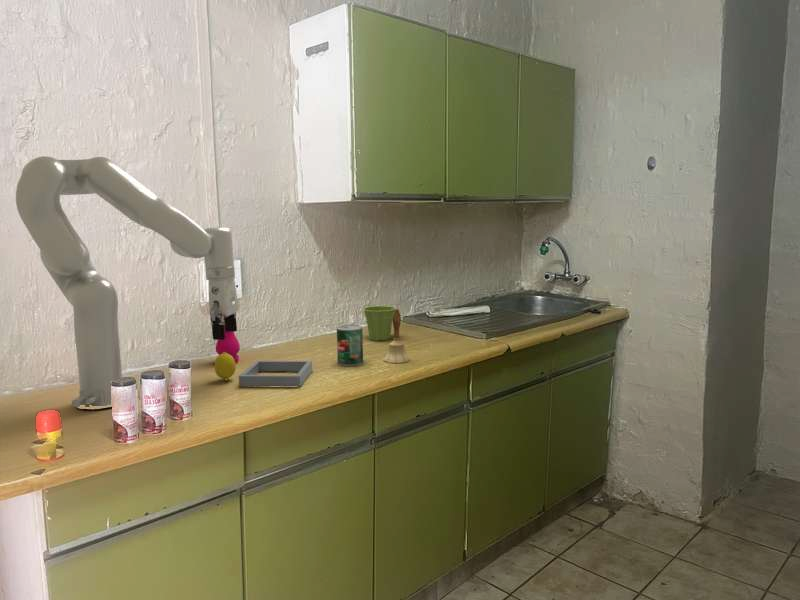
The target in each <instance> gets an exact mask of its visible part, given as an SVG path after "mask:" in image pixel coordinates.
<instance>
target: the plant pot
mask: <svg viewBox="0 0 800 600" xmlns="http://www.w3.org/2000/svg"><path fill="white" fill-rule="evenodd" d="M395 309H397V308H396V307H395V306H391V305H372V306H365V307H363V308H362V311H363V313H364V317H365V320H366V325H367V331H368V337H369V339H370V340H371V341H375V342H378V341H384V340H385V341H388V340H390V338H391V333H392V327H393V321H392V319H393V314H394V311H395Z"/></svg>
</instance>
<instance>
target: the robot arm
mask: <svg viewBox="0 0 800 600" xmlns="http://www.w3.org/2000/svg"><path fill="white" fill-rule="evenodd" d="M94 194H95V195H98V197H100V198H101V199H102V200H104V201H105V202H107V203H108V204H109V205H111V206H112V207H113V208H115V209H116V210H118V211H119V212H120V213H121V214H123V215H124V216H126V218H128V219H129V220H131V221H132V222H134V223H136V224H137V225H140V226H142V227H144V228H147V229H149V230H151V231H153V232H155V233H157V234H159V235H160V236H161V237H163V238H165V239H166V240H168V241H169V245H170V248H171V249H172V251H173V252H174V253H175V254H177V255H178V256H181V257H184V258H191V259H201V258H203V259H204V271H205V281H208V306H209V311H208V313H209V316H210V321H211V322H210V324H211V332H212V340H214V341H215V340H217V341H218V340H224V339H225V331H226V332H234V333H235V332H237V331H238V326H237V324H238V323H237V312H238V310H239V303H238V293H237V286H236V281H235V278H236V273H235V271H236V270H235V260H234V258H235V257H234V249H233V236H232V230H231V229H230V228H228V227H226V226H219V227H206V228H202V227H201V226H200V225H198V224H197V223H196V222H195V221H193V220H192V219H191V218H189V216H187V215H186V214H184V212H183V213H182V212H181V211H180V210H179V209H177V208H175V207H174V206H172V205H171V204H169V203H168V202H166V201H165V200H164V199H162V198H161V197H160V196H158V195H157V194H155V193H154V192H152V191H151V190H150V189H149V188H147V187H146V186H145V185H144V184H143V183H141V182H140V181H138V180H137V179H136V178H135V177H133V176H132V175H131V174H130V173H128V172H127V171H126V170H125V169H124V168H122V167H121V166H120V165H118V164H117V163H115V162H114V161H113V160H111V159H109V158H107V157H104V156H95V157H94V156H93V157H91V158H87V159H85V158H84V159H57V158H55V157H51V156H38V157H35V158H33V159H31V160H30V161H29V162H27V163H26V164H25V165H24V166H23V168H22V170H21V175H20V177H19V180H18V182H17V186H16V191H15V204H16V209H17V212H18V215H19V217H20V219H21V221H22V223H23V224H24V226H25V228H26V229H27V231H28V232H29V233H28V234H30V236H31V238H32V240H33V241H34V242H35V244H36V246H37V247H38V249H39V255H40V260H41V262H42V264H43V266H44V267H45V269H46V271H47V272H48V273H49V275H50V276H51V279H53V281H54V283H55V284H56V286H58V288H59V290H60V291H61V293H62V294H63V296H64V297H65V299H66V300H67V301H68V302H69V304H70V305H72V308H73V328H74V330H73V331H74V332H73V333H74V342H75V349H76V350H75V351H76V361H77V371H78V380H79V389H80V390H79V393H78V394H79V396H78V397H76V398H74V399H73V400H72V401H71V405H72V407H74V408H75V407H79V406H80V405H85V407H90V406H89V405H92V406H107V405H111V381H112V380H114V379H117V378H122V379H123V369H122V358H121V357H122V356H121V347H120V337H119V319H118V318H119V316H118V315H119V313H118V312H119V310H118V309H119V301H118V300H119V298H118V293H117V291H116V288H115V286H114V285H113V284H112V282H111V281H110V280H108V279H107V278H106V277H103V276H101V275H100V273H99V272H98V271H97V269H96V268H95V266H94V264H93V263H92V261H91V260H90V259H91V257H90V256H91V255H90V251H89V249H88V247H87V245H86V244H85V242H84V241H83V239H82V238H81V236H79V233H77V231H76V229H75V228H74V226H73V225H72V223H71V222H70V220H69V218H68V216H67V215H66V213H65V211H64V209H63V208H62V204H61V196H72V195H73V196H75V195H77V196H78V195H94ZM224 315H225V316H226V317H225V318H224ZM218 317H220V320H219V318H218ZM223 319H224V321H225V328H224V325H223Z"/></svg>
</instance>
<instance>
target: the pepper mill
mask: <svg viewBox="0 0 800 600" xmlns="http://www.w3.org/2000/svg"><path fill="white" fill-rule="evenodd" d="M225 317H226V316H225V315H224V318H225ZM218 318H219V320H220V317H218ZM223 325H224V328H225V321H224V319H223ZM240 350H241V346H240V342H239V340H238V339H237V336H236V335H235V332H226V331H225V339H224V340H217V341H216V343H215V352H216V353H217V354H218V356H219V355H220V354H222V353H223V352H226V353H227V354H230V355H231V356H232V357H233V359H234V361H235V362H237V361H239V362H240V356H239V355H238V353H239V352H240ZM237 363H238V362H237Z"/></svg>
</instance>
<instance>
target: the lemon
mask: <svg viewBox="0 0 800 600" xmlns="http://www.w3.org/2000/svg"><path fill="white" fill-rule="evenodd" d="M214 371H215V374H216V375H217V377H219V378H220V379H223V380H224V379H227V380H229V379H230V378H231V377H232V376H233V375H234V374H235V371H236V363H235V361H234V359H233V357H232V356H231V355H230V354H227V353H226V352H223V353H222V354H220V355H219V354H218V356H217V357H216V358H215V362H214Z"/></svg>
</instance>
